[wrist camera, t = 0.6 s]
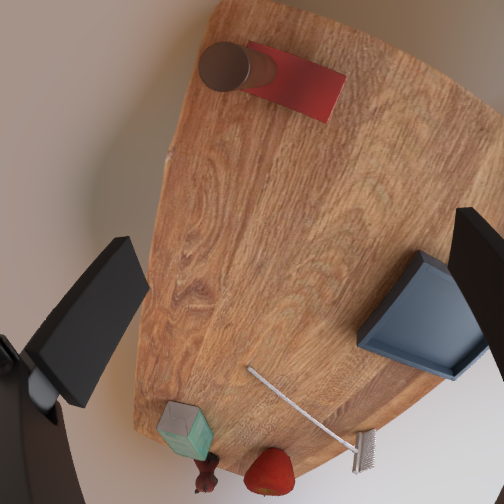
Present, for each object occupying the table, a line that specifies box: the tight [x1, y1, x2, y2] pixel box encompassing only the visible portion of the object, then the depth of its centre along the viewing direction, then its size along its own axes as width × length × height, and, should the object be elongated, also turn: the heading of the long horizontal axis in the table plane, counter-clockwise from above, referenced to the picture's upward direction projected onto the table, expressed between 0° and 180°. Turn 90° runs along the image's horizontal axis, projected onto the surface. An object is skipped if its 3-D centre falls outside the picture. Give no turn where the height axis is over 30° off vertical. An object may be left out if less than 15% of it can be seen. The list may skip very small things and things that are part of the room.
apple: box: [244, 448, 295, 496], centre depth 56 cm, size 11×11×12 cm
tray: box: [357, 250, 490, 381], centre depth 33 cm, size 18×14×2 cm
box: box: [156, 401, 213, 461], centre depth 58 cm, size 7×14×8 cm, turn 7°
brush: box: [247, 366, 376, 474], centre depth 45 cm, size 4×27×9 cm, turn 52°
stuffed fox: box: [194, 452, 219, 493], centre depth 66 cm, size 8×11×12 cm
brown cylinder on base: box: [199, 41, 347, 124], centre depth 20 cm, size 8×4×12 cm, turn 71°
